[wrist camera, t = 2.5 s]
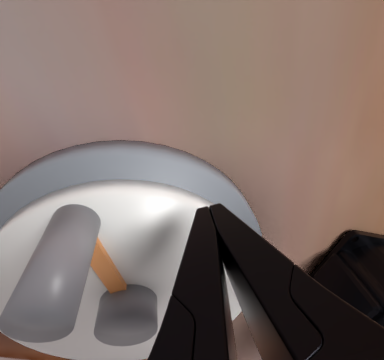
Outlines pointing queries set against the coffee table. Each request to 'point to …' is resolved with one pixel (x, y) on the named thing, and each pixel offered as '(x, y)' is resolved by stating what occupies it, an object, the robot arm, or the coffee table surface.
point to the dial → (95, 268)
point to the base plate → (122, 175)
